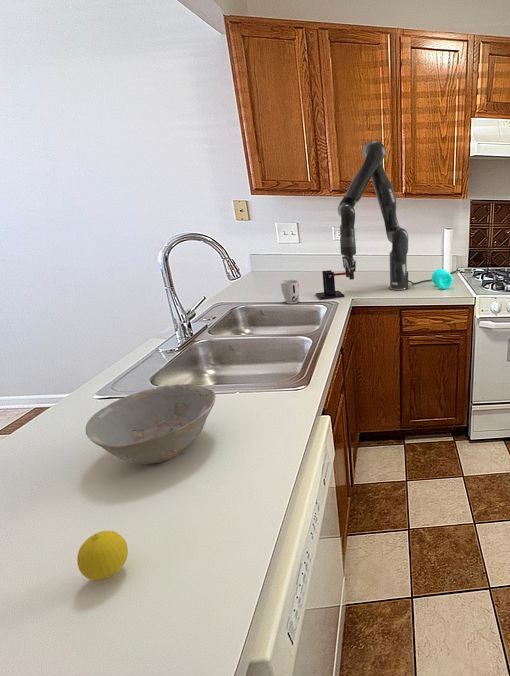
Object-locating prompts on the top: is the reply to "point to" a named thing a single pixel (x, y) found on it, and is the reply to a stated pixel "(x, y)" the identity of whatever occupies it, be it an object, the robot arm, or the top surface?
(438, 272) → the turquoise rounded cylinder
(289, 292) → the cup
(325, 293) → the bracket
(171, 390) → the ceramic bowl
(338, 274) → the lever
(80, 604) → the top surface
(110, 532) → the lemon
